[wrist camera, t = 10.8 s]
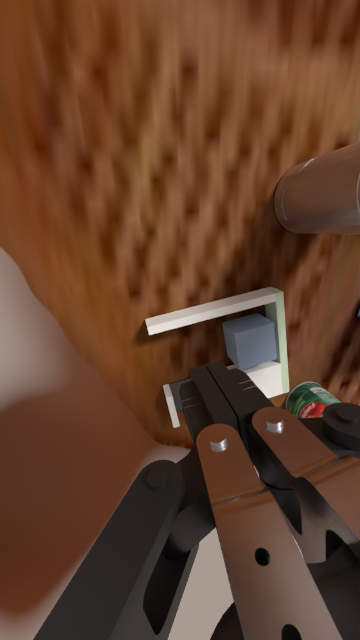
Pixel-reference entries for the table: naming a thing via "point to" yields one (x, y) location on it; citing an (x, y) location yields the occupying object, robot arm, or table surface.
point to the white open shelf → (264, 375)
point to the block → (250, 340)
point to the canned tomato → (308, 400)
